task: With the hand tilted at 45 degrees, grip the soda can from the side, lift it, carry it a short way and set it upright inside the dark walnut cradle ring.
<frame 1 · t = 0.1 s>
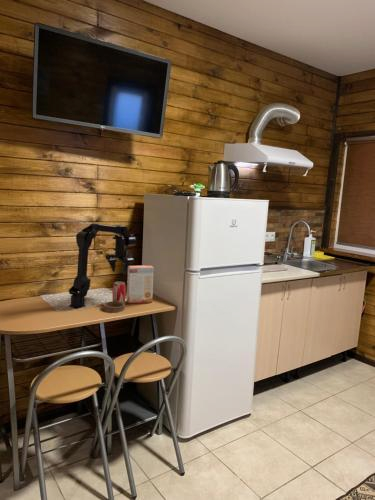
hand: (119, 273, 225), 15 cm above the table, tool pointing down, fingers open, 9 cm apart
cracker box: (139, 302, 221), on the table
soda can: (118, 303, 215), on the table
cradle ring: (114, 308, 205), on the table
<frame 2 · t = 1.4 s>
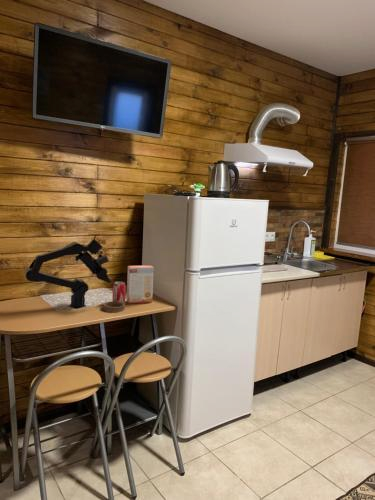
hand: (108, 280, 210), 13 cm above the table, tool tilted 45°, fingers open, 9 cm apart
nothing on the table moved.
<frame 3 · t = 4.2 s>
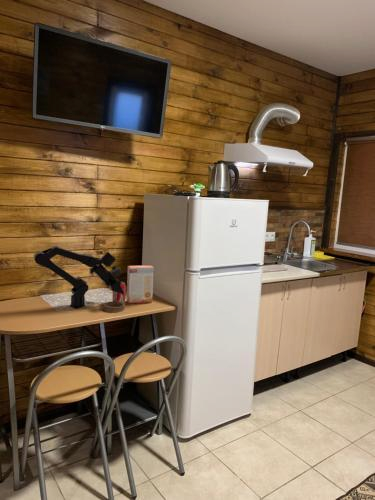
hand: (121, 291, 214), 7 cm above the table, tool tilted 45°, fingers closed on soda can, 7 cm apart
soda can: (118, 303, 215), on the table, touching gripper
everything else where it was.
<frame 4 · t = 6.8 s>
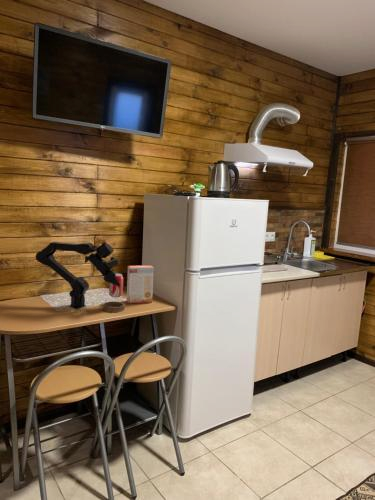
hand: (118, 284, 205), 13 cm above the table, tool tilted 45°, fingers closed on soda can, 7 cm apart
soda can: (115, 296, 206), point 6 cm above the table, touching gripper
everything else where it was.
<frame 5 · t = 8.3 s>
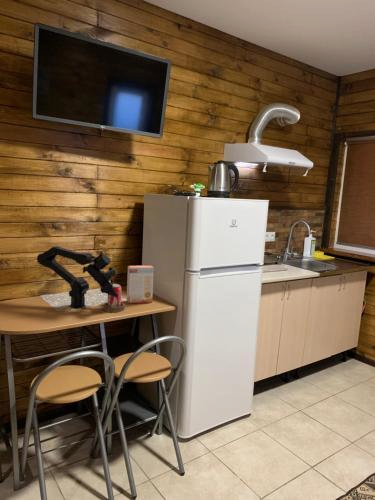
hand: (117, 294, 204), 8 cm above the table, tool tilted 45°, fingers closed on soda can, 7 cm apart
soda can: (113, 307, 205), point 1 cm above the table, touching gripper
everything else where it was.
when the fingers open (8 cm above the table, at t = 9.3 s): soda can stays where it is, resting in cradle ring.
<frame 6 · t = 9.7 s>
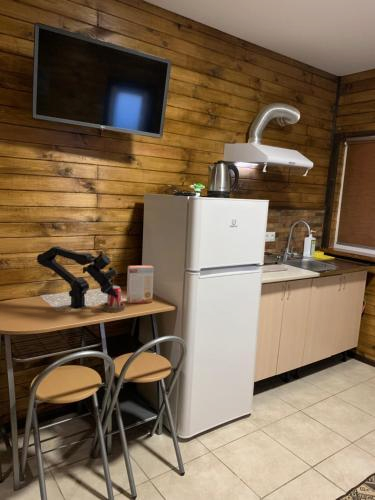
hand: (117, 294, 204), 8 cm above the table, tool tilted 45°, fingers open, 9 cm apart
soda can: (113, 309, 205), resting in cradle ring
everything else where it was.
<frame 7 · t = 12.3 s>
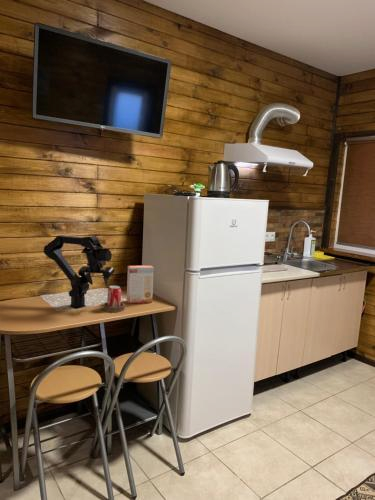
hand: (99, 284, 207), 12 cm above the table, tool tilted 20°, fingers open, 9 cm apart
nothing on the table moved.
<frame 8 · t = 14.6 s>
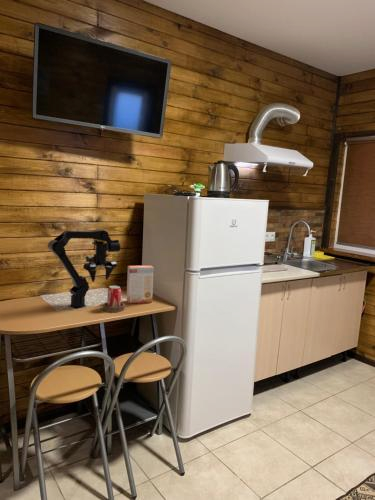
hand: (100, 280, 210), 13 cm above the table, tool pointing down, fingers open, 9 cm apart
nothing on the table moved.
at the end: soda can 0.6 cm off-centre on the cradle ring, point 0.0 cm above the cradle ring's base; soda can tilted 0°; the gripper is holding nothing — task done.
